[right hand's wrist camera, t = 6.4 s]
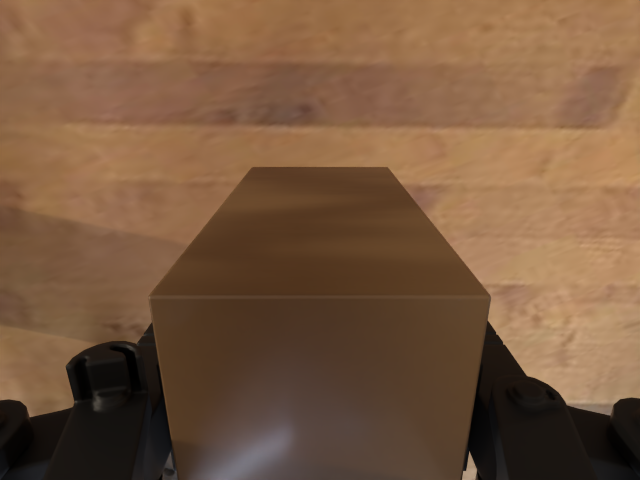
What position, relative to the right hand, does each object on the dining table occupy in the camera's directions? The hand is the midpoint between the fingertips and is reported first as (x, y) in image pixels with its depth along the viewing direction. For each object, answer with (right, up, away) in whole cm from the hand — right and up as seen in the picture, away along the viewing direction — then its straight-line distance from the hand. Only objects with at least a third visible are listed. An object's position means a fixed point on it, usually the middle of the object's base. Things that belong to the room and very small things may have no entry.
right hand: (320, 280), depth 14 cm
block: (0, +1, +1) cm, 1 cm away
